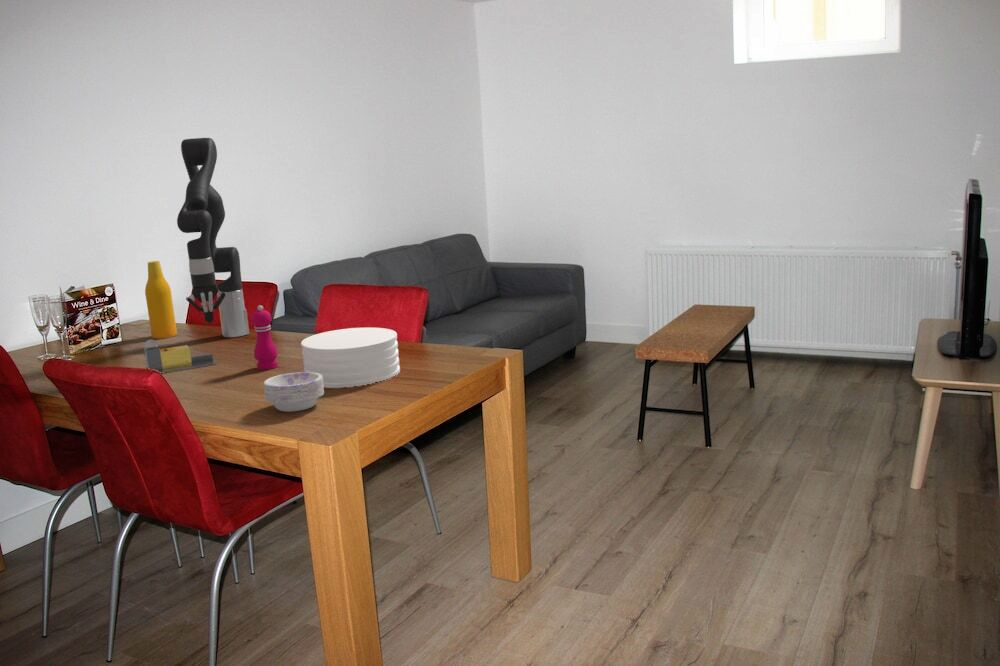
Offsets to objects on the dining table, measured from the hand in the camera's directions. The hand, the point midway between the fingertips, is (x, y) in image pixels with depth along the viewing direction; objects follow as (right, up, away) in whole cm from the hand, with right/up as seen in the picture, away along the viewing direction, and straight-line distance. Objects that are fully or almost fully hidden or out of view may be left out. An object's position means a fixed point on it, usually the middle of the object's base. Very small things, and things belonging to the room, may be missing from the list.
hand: (209, 322), depth 284 cm
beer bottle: (-32, -5, +44) cm, 55 cm away
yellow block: (-8, -14, -7) cm, 18 cm away
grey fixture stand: (-7, -14, -7) cm, 17 cm away
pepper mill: (+24, -15, -15) cm, 32 cm away
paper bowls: (+43, -23, -59) cm, 77 cm away
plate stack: (+53, -16, -30) cm, 63 cm away
